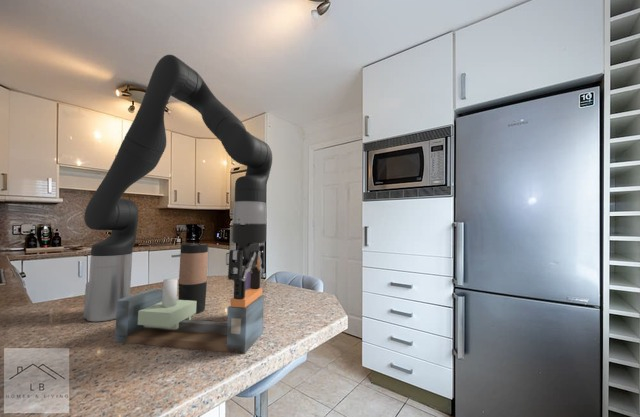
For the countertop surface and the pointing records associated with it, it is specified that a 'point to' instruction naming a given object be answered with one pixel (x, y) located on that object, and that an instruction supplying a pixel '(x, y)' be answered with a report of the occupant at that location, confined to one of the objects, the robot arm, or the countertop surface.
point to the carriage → (167, 309)
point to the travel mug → (193, 274)
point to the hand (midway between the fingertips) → (247, 293)
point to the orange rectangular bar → (247, 298)
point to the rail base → (179, 339)
